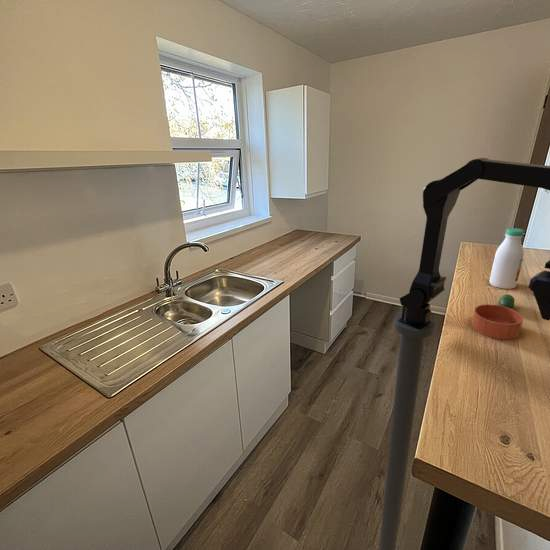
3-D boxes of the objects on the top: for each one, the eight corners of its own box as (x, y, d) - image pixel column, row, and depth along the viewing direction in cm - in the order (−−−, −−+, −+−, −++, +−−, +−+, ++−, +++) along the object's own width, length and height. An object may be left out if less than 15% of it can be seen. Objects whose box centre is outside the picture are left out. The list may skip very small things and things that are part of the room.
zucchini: (512, 314, 89) (515, 303, 87) (497, 311, 91) (499, 300, 89) (513, 303, 94) (516, 293, 93) (499, 300, 96) (501, 290, 95)
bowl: (464, 327, 84) (467, 313, 83) (481, 313, 90) (483, 300, 88) (510, 344, 76) (514, 329, 74) (525, 328, 82) (529, 313, 80)
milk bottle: (508, 291, 101) (523, 234, 94) (484, 284, 108) (496, 229, 100) (520, 285, 105) (535, 229, 97) (496, 278, 111) (508, 225, 103)
